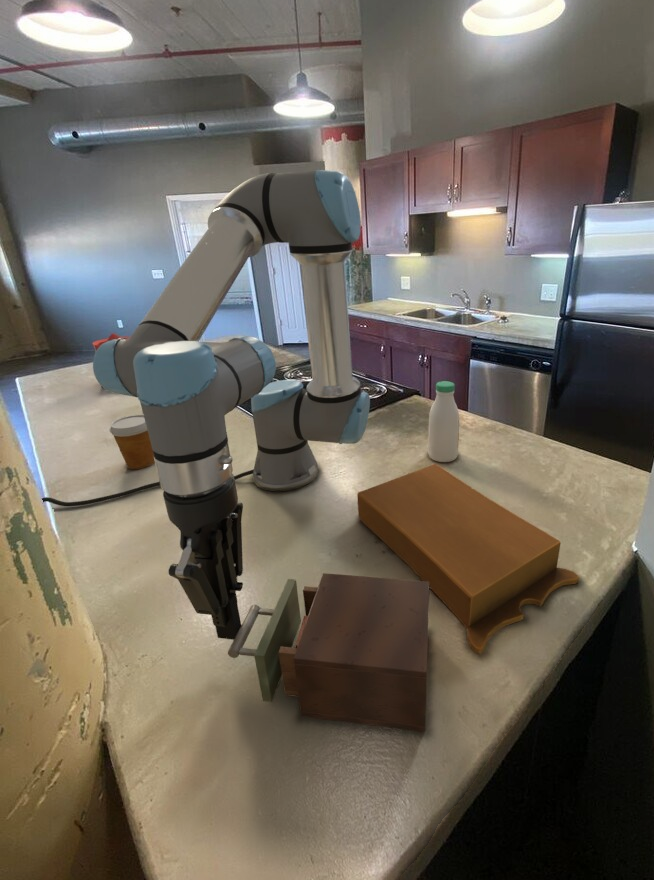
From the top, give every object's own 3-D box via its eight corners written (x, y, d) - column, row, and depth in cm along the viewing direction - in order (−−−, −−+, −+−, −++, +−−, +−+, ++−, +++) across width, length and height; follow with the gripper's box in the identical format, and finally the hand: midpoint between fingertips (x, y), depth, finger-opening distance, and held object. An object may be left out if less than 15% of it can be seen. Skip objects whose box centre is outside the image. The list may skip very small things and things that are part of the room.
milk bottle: (457, 464, 105) (460, 389, 98) (426, 461, 106) (428, 387, 99) (458, 450, 112) (461, 379, 105) (429, 447, 113) (431, 378, 106)
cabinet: (300, 716, 50) (293, 658, 46) (327, 624, 61) (322, 572, 58) (425, 731, 48) (426, 672, 44) (427, 634, 60) (429, 581, 56)
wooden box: (440, 461, 94) (585, 549, 66) (440, 486, 96) (579, 581, 68) (350, 495, 82) (480, 619, 54) (351, 522, 84) (477, 655, 56)
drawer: (224, 696, 51) (213, 650, 48) (261, 617, 62) (254, 575, 59) (373, 714, 49) (371, 667, 46) (384, 629, 60) (383, 586, 57)
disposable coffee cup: (169, 458, 110) (160, 417, 106) (136, 475, 102) (124, 431, 98) (145, 451, 114) (135, 411, 110) (111, 468, 106) (99, 425, 102)
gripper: (198, 518, 40) (234, 685, 49) (254, 454, 52) (275, 597, 61) (128, 513, 41) (174, 678, 50) (199, 452, 53) (227, 593, 62)
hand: (230, 633), depth 55 cm, fingers closed
